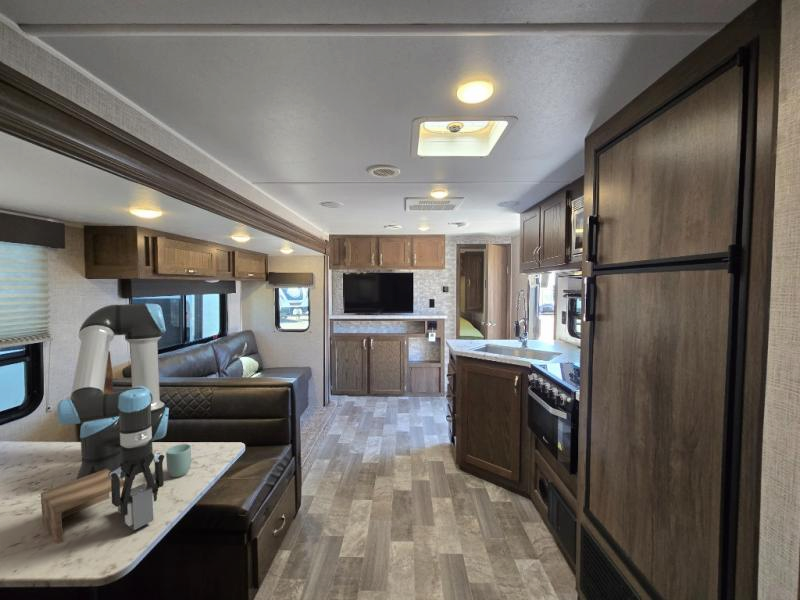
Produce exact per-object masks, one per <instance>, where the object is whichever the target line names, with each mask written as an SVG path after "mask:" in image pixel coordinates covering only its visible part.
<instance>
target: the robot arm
mask: <svg viewBox="0 0 800 600" xmlns="http://www.w3.org/2000/svg"><path fill="white" fill-rule="evenodd" d="M166 331H167V330H166V325H165V318H164V313H163V309H162V307H161V305H160V304H157V303H133V304H129V303H128V304H109V305H106V306H103V307H101V308H99V309H97V310H95V311H93V312H92V313H91V314H90V315H88V317H87V318H86V319H85V320H84V321H83V323H82V324H81V325H80V328H79V332H78V339H79V340H80V346H79V352H78V356H77V357H78V358H77V362H76V366H75V371H74V377H73V382H72V387H71V392H70V397H67V398H64V399H62V400H61V399H60V401H59V402H58V404H57V407H56V417H57V418H56V419H57V422H58V423H59V425H61V426H68V425H76V424H81V425H80V434H79V439H80V450H81V451H80V452H81V465H80V467H79V470H78V473H77V476H76V478H75V480H77V479H80V478H83V477H86V476H88V475H91V474H94V473H96V472H99V471H102V470H104V469H108V470H110V472H109V473H108V475H109V477H110V478H111V492H110V493H111V504H112V505H113V506H114V507H115V508H116V507H117V508H118V506H120V507H121V512H120V514H121V516H122V517H124V524H125V525H127V526H128V527H130V526H131V525H132V511H131V503H130V502H129V501H128V500H129V496H130V492H131V489H132V487H133V483H134V480H135V478H136V476H137V475H139V474H143V476H144V479H145V481H146V484H148V486H150V487H151V488H152V497H153V515H154V514H155V502H157V500H158V494H157V492H158V493H159V488H162V487H164V484H165V483H164V468H163V465H164V464H163V463H164V458H165V455H164V454H163V453H160V452H159V453H156V454H154V453H153V449H154V448H153V441H157V440H161V439H163V438H164V437H165V436H166V435H167V430H168V422H169V410H170V408H169V407H165V403H164V402H162V401H161V400H160V380H159V379H160V377H159V376H160V375H159V356H158V355H159V354H158V353H159V351H158V350H159V349H158V341H159V340H160V339H161V338H162V333H165V332H166ZM116 336H124V340H125V341H126V342H128V344H129V345H130V348H129V349H130V366H131V367H130V370H131V372H130V373H131V388H130V389H128V390H123V391H121V390H120V391H116V392H114V391H113V393H106V394H103V392H104V384H105V376H106V368H107V360H108V352H110V343H111V342H112V341H113V340H114V338H115V337H116ZM152 462H154V464H153V465H154V477H155V478H154V477H153V474H152V470H151V469H150V466H151V464H152ZM119 477H120V478H121V479H123V478H124V485H123V487H122V490H121V488H120V480H119Z"/></svg>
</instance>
